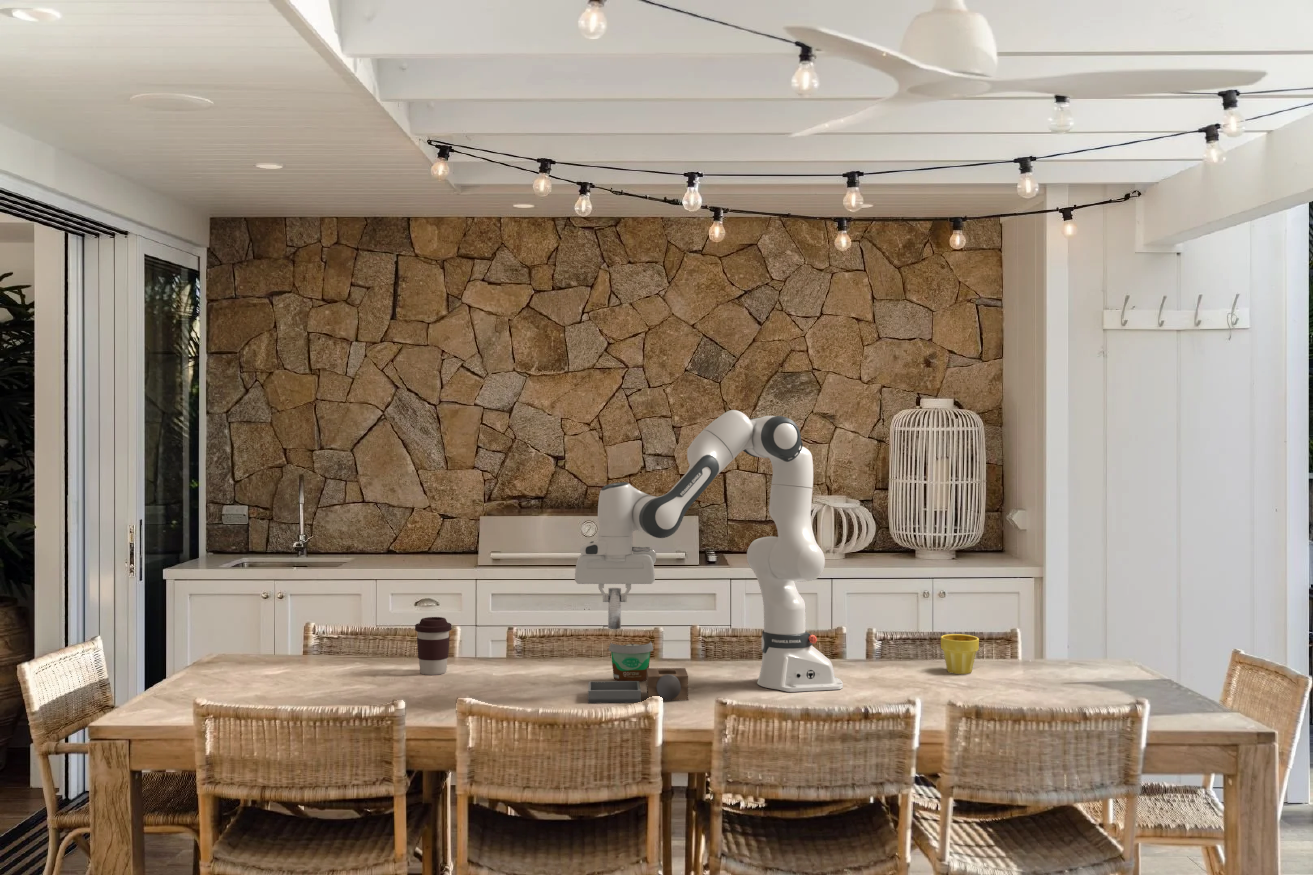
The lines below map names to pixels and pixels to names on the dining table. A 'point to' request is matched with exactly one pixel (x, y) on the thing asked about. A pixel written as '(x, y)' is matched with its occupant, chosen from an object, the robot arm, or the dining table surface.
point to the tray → (614, 691)
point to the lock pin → (614, 608)
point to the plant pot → (959, 652)
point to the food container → (630, 661)
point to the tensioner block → (667, 683)
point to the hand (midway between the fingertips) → (614, 601)
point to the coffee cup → (433, 645)
